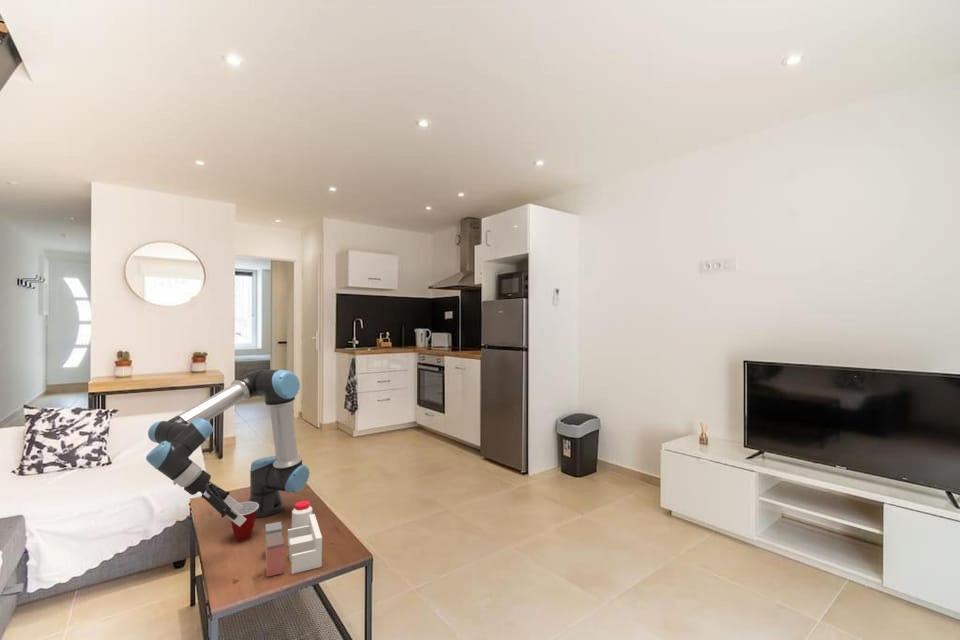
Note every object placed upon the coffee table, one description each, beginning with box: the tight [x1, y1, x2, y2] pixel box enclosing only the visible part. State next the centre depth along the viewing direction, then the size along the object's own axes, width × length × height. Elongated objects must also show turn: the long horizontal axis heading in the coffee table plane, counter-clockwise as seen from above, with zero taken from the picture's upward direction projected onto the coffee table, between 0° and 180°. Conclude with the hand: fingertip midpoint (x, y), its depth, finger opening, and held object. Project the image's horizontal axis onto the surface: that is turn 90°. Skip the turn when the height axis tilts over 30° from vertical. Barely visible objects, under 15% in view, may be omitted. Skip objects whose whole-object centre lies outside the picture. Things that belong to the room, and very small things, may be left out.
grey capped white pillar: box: [264, 521, 283, 553], centre depth 156 cm, size 6×5×10 cm
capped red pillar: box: [265, 535, 285, 578], centre depth 146 cm, size 6×5×10 cm
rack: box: [287, 513, 323, 575], centre depth 155 cm, size 21×10×10 cm, turn 28°
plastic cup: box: [230, 501, 259, 542], centre depth 168 cm, size 11×11×12 cm
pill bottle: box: [291, 500, 313, 529], centre depth 174 cm, size 8×8×11 cm
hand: (241, 515), depth 151 cm, fingers open, 13 cm apart
